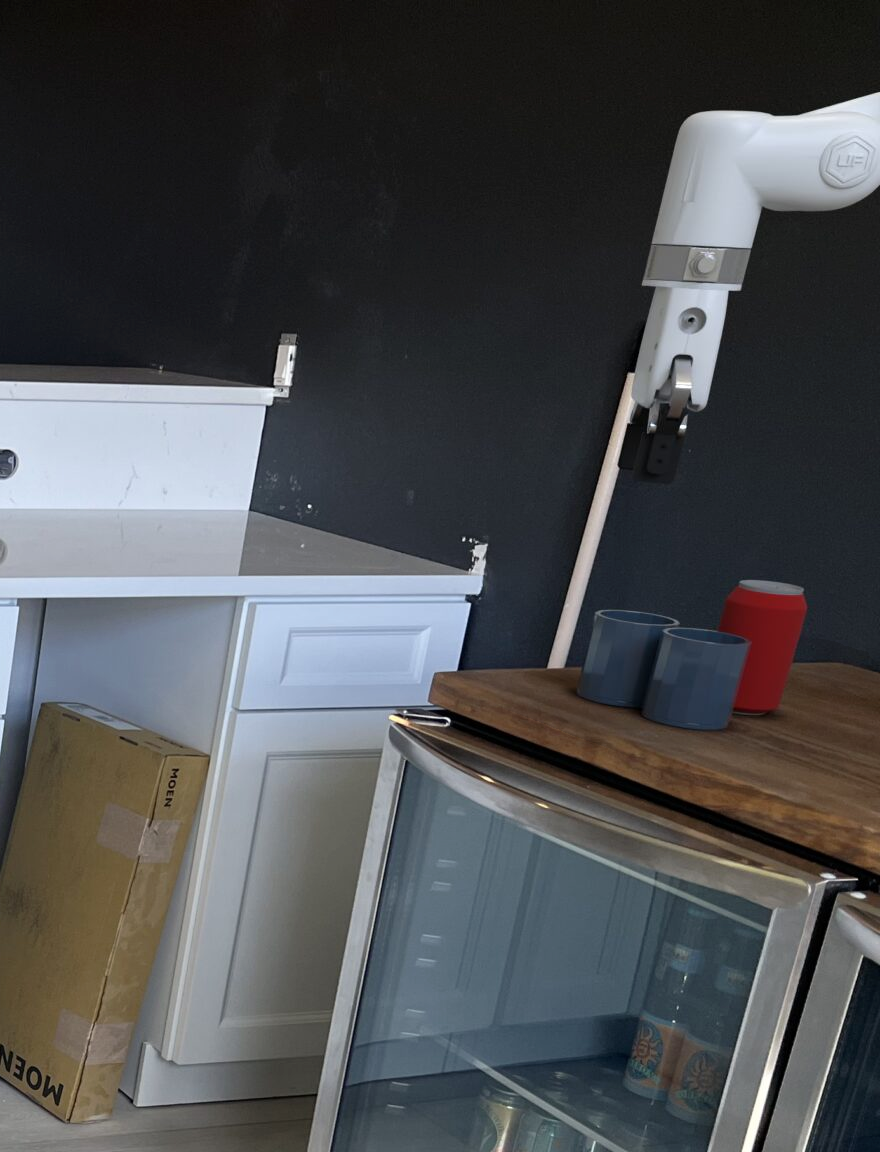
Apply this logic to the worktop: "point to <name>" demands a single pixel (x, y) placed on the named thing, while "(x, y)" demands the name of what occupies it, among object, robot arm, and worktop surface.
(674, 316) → the robot arm
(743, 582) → the beverage can
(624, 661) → the tumbler far
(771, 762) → the worktop surface
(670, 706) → the tumbler mid
